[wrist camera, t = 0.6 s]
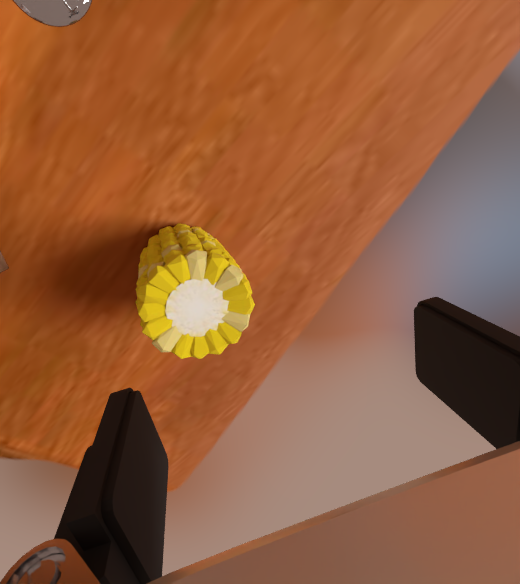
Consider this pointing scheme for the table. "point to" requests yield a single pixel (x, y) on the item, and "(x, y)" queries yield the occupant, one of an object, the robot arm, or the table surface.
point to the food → (191, 293)
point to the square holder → (2, 263)
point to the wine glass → (55, 10)
